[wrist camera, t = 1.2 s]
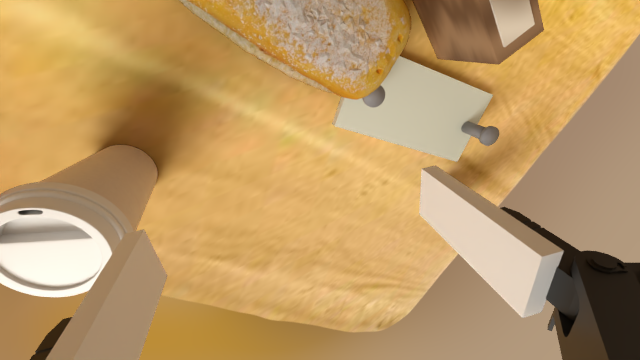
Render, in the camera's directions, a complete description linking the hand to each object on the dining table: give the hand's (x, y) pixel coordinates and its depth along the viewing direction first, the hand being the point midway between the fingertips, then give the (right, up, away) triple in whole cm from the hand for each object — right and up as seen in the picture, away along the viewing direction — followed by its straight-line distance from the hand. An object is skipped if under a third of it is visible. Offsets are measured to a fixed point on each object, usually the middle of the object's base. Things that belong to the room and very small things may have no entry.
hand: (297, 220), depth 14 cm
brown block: (+14, +23, +19) cm, 33 cm away
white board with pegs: (+13, +12, +24) cm, 30 cm away
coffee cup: (-21, +3, +20) cm, 29 cm away
